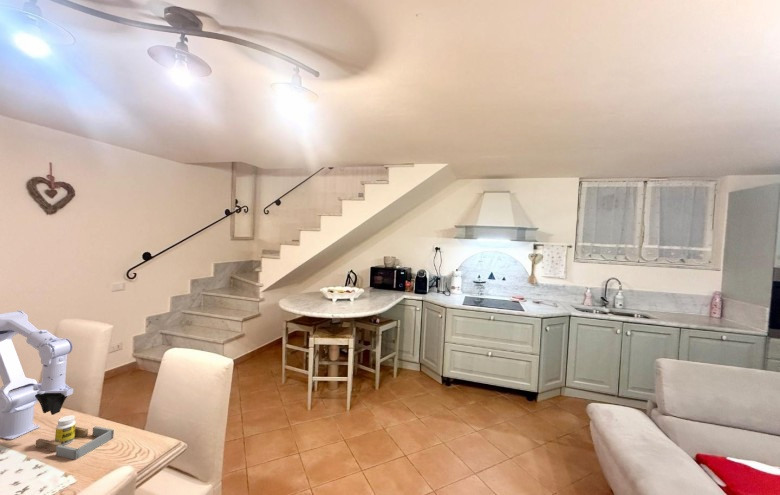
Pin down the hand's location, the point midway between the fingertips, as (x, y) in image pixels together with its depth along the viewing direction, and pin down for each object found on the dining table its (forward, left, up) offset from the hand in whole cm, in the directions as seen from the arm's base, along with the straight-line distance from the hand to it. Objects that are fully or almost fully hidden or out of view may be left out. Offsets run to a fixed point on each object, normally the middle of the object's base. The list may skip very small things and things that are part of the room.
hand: (51, 412), depth 108 cm
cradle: (+16, 0, -9) cm, 18 cm away
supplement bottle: (+7, 0, -10) cm, 12 cm away
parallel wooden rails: (+6, 0, -9) cm, 11 cm away
